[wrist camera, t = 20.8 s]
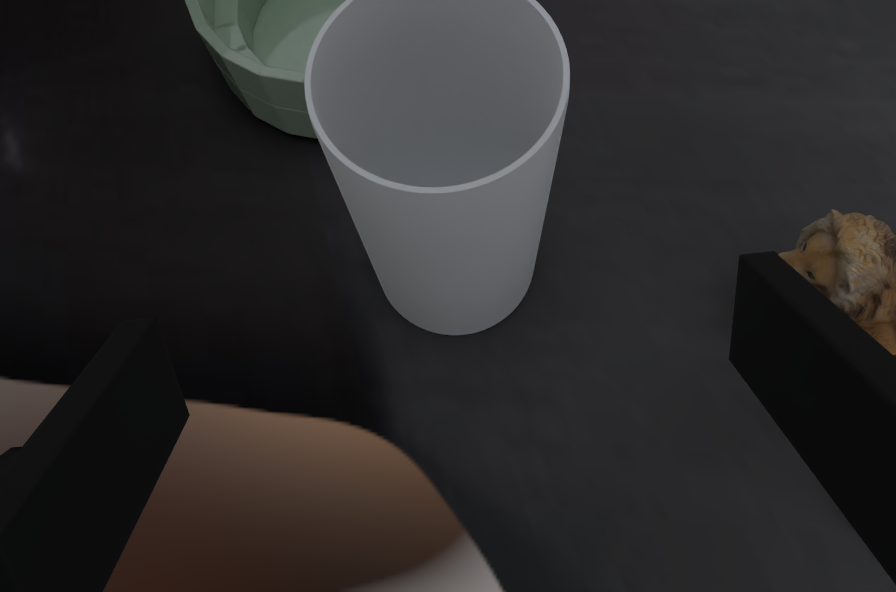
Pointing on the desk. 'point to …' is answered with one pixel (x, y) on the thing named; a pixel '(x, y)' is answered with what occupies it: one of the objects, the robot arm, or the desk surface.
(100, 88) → the desk surface
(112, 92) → the desk surface
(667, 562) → the desk surface
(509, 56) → the cup
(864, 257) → the lion figurine
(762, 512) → the desk surface
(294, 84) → the ceramic bowl
